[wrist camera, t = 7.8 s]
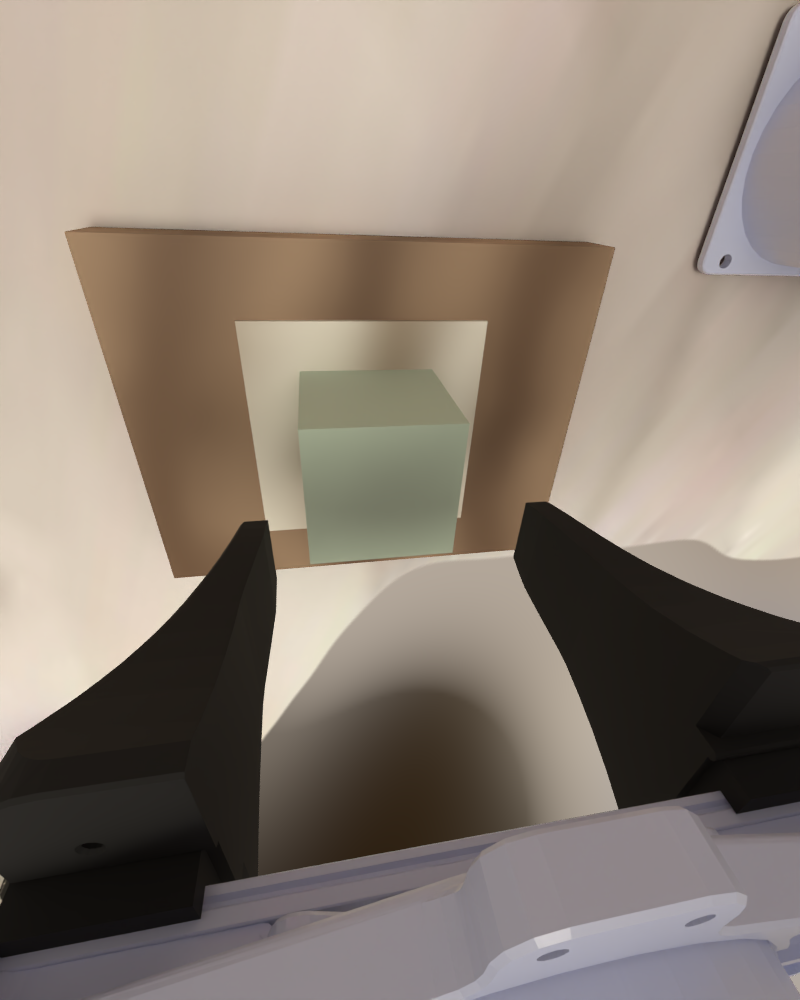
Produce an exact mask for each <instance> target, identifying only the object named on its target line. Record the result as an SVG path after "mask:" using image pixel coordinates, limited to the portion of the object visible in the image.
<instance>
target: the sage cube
mask: <svg viewBox="0 0 800 1000" xmlns="http://www.w3.org/2000/svg"><path fill="white" fill-rule="evenodd" d="M469 425H470V423H469V422H468V420H467V419H466V418H465V416H464V415H463V413H462V412H461V410H460V409H459V407H458V406H457V405H456V403H455V402H454V400H453V399H452V397H451V396H450V394H449V393H448V392H447V390H446V389H445V387H444V386H443V384H442V383H441V381H440V380H439V379H438V377H437V376H436V374H435V373H434V371H433V370H432V369H414V370H352V371H300V377H299V410H298V436H299V447H300V458H301V469H302V480H303V491H304V502H305V513H306V524H307V534H308V545H309V556H310V564H320V563H332V562H344V561H357V560H369V559H381V558H393V557H405V556H417V555H430V554H442V553H452V552H453V545H454V537H455V530H456V522H457V515H458V507H459V500H460V492H461V485H462V477H463V470H464V463H465V455H466V448H467V440H468V433H469Z"/></svg>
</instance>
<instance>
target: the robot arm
mask: <svg viewBox="0 0 800 1000" xmlns="http://www.w3.org/2000/svg"><path fill="white" fill-rule="evenodd" d="M723 256H725V258H724V261H723V263H722V264H721V265H720V266H719V263H720V260H721V259H722V257H723ZM697 267H698V270H699V271H700V272H701V273H705V274H710V275H763V276H800V3H798V4H796V5H795V6H794V7H792V8H791V9H790V11H789V12H788V13H787V15H786V17H785V19H784V21H783V23H782V26H781V29H780V32H779V34H778V37H777V40H776V43H775V46H774V48H773V51H772V54H771V57H770V60H769V62H768V65H767V68H766V71H765V74H764V77H763V79H762V82H761V85H760V88H759V91H758V93H757V96H756V99H755V102H754V105H753V107H752V110H751V113H750V116H749V119H748V121H747V124H746V127H745V130H744V133H743V136H742V138H741V141H740V144H739V147H738V150H737V152H736V155H735V158H734V161H733V164H732V166H731V169H730V172H729V175H728V178H727V180H726V183H725V186H724V189H723V192H722V195H721V197H720V200H719V203H718V206H717V209H716V211H715V214H714V217H713V220H712V223H711V225H710V228H709V231H708V234H707V237H706V239H705V242H704V245H703V248H702V251H701V254H700V256H699V259H698V264H697ZM514 560H515V563H516V566H517V569H518V571H519V574H520V577H521V579H522V582H523V584H524V587H525V589H526V591H527V593H528V594H529V596H530V598H531V600H532V602H533V604H534V605H535V608H536V609H537V611H538V613H539V615H540V617H541V619H542V620H543V622H544V624H545V626H546V628H547V629H548V631H549V633H550V635H551V637H552V639H553V640H554V642H555V644H556V646H557V648H558V649H559V651H560V653H561V655H562V657H563V659H564V661H565V663H566V665H567V668H568V670H569V672H570V675H571V677H572V680H573V682H574V685H575V687H576V689H577V692H578V694H579V697H580V699H581V702H582V704H583V707H584V710H585V712H586V715H587V717H588V720H589V722H590V725H591V728H592V730H593V733H594V736H595V739H596V742H597V745H598V748H599V750H600V753H601V756H602V759H603V762H604V765H605V768H606V770H607V774H608V777H609V780H610V783H611V787H612V790H613V793H614V796H615V799H616V802H617V806H618V810H613V811H608V812H603V813H597V814H592V815H587V816H581V817H575V818H570V819H565V820H559V821H554V822H549V823H543V824H538V825H532V826H527V827H522V828H516V829H511V830H505V831H500V832H494V833H489V834H484V835H479V836H473V837H468V838H462V839H457V840H451V841H447V842H441V843H435V844H430V845H424V846H419V847H414V848H408V849H403V850H397V851H392V852H387V853H381V854H376V855H370V856H365V857H360V858H354V859H349V860H343V861H338V862H333V863H327V864H322V865H317V866H311V867H306V868H301V869H295V870H290V871H285V872H279V873H274V874H268V875H263V876H258V828H259V791H260V762H261V736H262V715H263V700H264V690H265V682H266V676H267V669H268V662H269V656H270V649H271V642H272V635H273V628H274V622H275V614H276V590H277V576H276V570H275V563H274V556H273V550H272V543H271V537H270V530H269V524H268V520H262V521H247V522H243V523H242V524H241V525H240V527H239V528H238V530H237V532H236V533H235V535H234V536H233V538H232V540H231V541H230V543H229V544H228V546H227V547H226V549H225V550H224V552H223V553H222V555H221V556H220V558H219V559H218V560H217V562H216V563H215V564H214V566H213V567H212V569H211V570H210V571H209V573H208V574H207V575H206V577H205V578H204V579H203V581H202V582H201V583H200V584H199V585H198V587H197V588H196V589H195V590H194V591H193V593H192V594H191V595H190V596H189V597H188V599H187V600H186V601H185V602H184V603H183V604H182V606H181V607H180V608H179V609H178V610H177V611H176V612H175V613H174V614H173V615H172V616H171V618H170V619H169V620H168V621H167V622H166V623H165V624H164V625H163V626H162V627H161V628H160V629H159V630H158V631H157V632H156V633H155V634H154V635H152V636H151V637H150V638H149V639H148V640H147V641H146V642H145V643H144V644H143V645H142V646H141V647H139V648H138V649H137V650H136V651H135V652H134V653H133V654H131V655H130V656H129V657H128V658H127V659H126V660H125V661H123V662H122V663H121V664H120V665H119V666H117V667H116V668H115V669H114V670H112V671H111V672H110V673H108V674H107V675H106V676H105V677H103V678H102V679H101V680H100V681H98V682H97V683H95V684H94V685H93V686H91V687H90V688H89V689H87V690H86V691H85V692H83V693H82V694H81V695H79V696H78V697H76V698H75V699H74V700H72V701H71V702H69V703H68V704H67V705H65V706H64V707H62V708H61V709H59V710H58V711H56V712H55V713H53V714H52V715H50V716H49V717H47V718H46V719H44V720H43V721H41V722H40V723H38V724H37V725H35V726H34V727H32V728H31V729H29V730H27V731H26V732H24V733H23V734H21V735H20V736H18V737H16V739H15V740H14V742H13V744H12V745H11V747H10V748H9V750H8V751H7V753H6V755H5V756H4V758H3V759H2V761H1V762H0V875H1V876H2V877H3V878H4V879H6V880H7V881H8V882H9V885H8V888H7V890H6V892H5V895H4V897H3V899H2V902H1V904H0V1000H800V994H799V992H798V991H797V989H796V987H795V986H794V984H793V982H792V980H791V979H790V976H794V975H797V974H800V623H799V622H796V621H792V620H789V619H785V618H782V617H778V616H775V615H772V614H769V613H766V612H763V611H760V610H757V609H754V608H751V607H748V606H745V605H742V604H739V603H737V602H734V601H731V600H729V599H726V598H723V597H721V596H718V595H716V594H713V593H711V592H708V591H706V590H704V589H701V588H699V587H696V586H694V585H692V584H689V583H687V582H685V581H683V580H680V579H678V578H676V577H674V576H672V575H670V574H668V573H666V572H664V571H662V570H660V569H658V568H656V567H654V566H652V565H650V564H648V563H646V562H644V561H642V560H641V559H639V558H637V557H635V556H634V555H632V554H630V553H628V552H627V551H625V550H623V549H621V548H620V547H618V546H617V545H615V544H613V543H612V542H610V541H608V540H607V539H605V538H603V537H602V536H600V535H599V534H597V533H596V532H594V531H592V530H591V529H589V528H588V527H586V526H585V525H583V524H582V523H580V522H579V521H577V520H575V519H574V518H572V517H571V516H569V515H568V514H566V513H565V512H563V511H561V510H560V509H558V508H557V507H555V506H553V505H552V504H550V503H548V502H546V501H543V502H528V503H526V504H525V509H524V513H523V517H522V522H521V526H520V530H519V535H518V539H517V544H516V548H515V552H514Z"/></svg>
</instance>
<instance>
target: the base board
mask: <svg viewBox="0 0 800 1000" xmlns="http://www.w3.org/2000/svg"><path fill="white" fill-rule="evenodd" d="M65 235H66V238H67V241H68V245H69V248H70V251H71V254H72V257H73V260H74V263H75V267H76V270H77V273H78V276H79V279H80V282H81V285H82V289H83V292H84V295H85V298H86V301H87V304H88V307H89V311H90V314H91V317H92V320H93V323H94V326H95V330H96V333H97V336H98V339H99V342H100V345H101V348H102V352H103V355H104V358H105V361H106V364H107V367H108V370H109V374H110V377H111V380H112V383H113V386H114V389H115V392H116V396H117V399H118V402H119V405H120V408H121V411H122V414H123V418H124V421H125V424H126V427H127V430H128V433H129V437H130V440H131V443H132V446H133V449H134V452H135V455H136V459H137V462H138V465H139V468H140V471H141V474H142V477H143V481H144V484H145V487H146V490H147V493H148V496H149V499H150V503H151V506H152V509H153V512H154V515H155V518H156V521H157V525H158V528H159V531H160V534H161V537H162V540H163V544H164V547H165V550H166V553H167V556H168V559H169V562H170V566H171V569H172V572H173V575H174V578H181V577H193V576H205V575H207V574H208V573H209V571H210V570H211V569H212V567H213V566H214V564H215V563H216V562H217V560H218V559H219V558H220V556H221V555H222V553H223V552H224V550H225V549H226V547H227V546H228V544H229V543H230V541H231V540H232V538H233V536H234V535H235V533H236V532H237V530H238V528H239V527H240V525H241V524H242V523H243V522H247V521H262V520H268V524H269V530H270V537H271V543H272V550H273V556H274V563H275V570H277V569H289V568H301V567H313V566H325V565H337V564H349V563H361V562H373V561H384V560H396V559H408V558H420V557H432V556H444V555H456V554H468V553H480V552H492V551H504V550H515V548H516V544H517V539H518V535H519V530H520V526H521V522H522V517H523V513H524V509H525V504H526V503H528V502H543V501H546V502H548V501H549V497H550V494H551V490H552V486H553V482H554V478H555V475H556V471H557V467H558V463H559V459H560V456H561V452H562V448H563V444H564V440H565V437H566V433H567V429H568V425H569V421H570V418H571V414H572V410H573V406H574V402H575V399H576V395H577V391H578V387H579V383H580V380H581V376H582V372H583V368H584V364H585V361H586V357H587V353H588V349H589V345H590V342H591V338H592V334H593V330H594V326H595V323H596V319H597V315H598V311H599V307H600V304H601V300H602V296H603V292H604V288H605V285H606V281H607V277H608V273H609V269H610V265H611V262H612V258H613V254H614V250H615V247H610V246H605V245H600V244H594V243H589V242H567V241H534V240H501V239H468V238H435V237H402V236H369V235H336V234H303V233H270V232H238V231H205V230H172V229H139V228H106V227H87V228H82V229H77V230H71V231H66V232H65ZM414 369H432V370H433V371H434V373H435V374H436V376H437V377H438V379H439V380H440V381H441V383H442V384H443V386H444V387H445V389H446V390H447V392H448V393H449V394H450V396H451V397H452V399H453V400H454V402H455V403H456V405H457V406H458V407H459V409H460V410H461V412H462V413H463V415H464V416H465V418H466V419H467V420H468V422H469V423H470V425H469V433H468V440H467V448H466V455H465V463H464V470H463V477H462V485H461V492H460V500H459V507H458V515H457V522H456V530H455V537H454V545H453V552H452V553H442V554H430V555H417V556H405V557H393V558H381V559H369V560H357V561H344V562H332V563H320V564H310V556H309V545H308V534H307V524H306V513H305V502H304V491H303V480H302V469H301V458H300V447H299V436H298V410H299V377H300V371H352V370H414Z"/></svg>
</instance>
